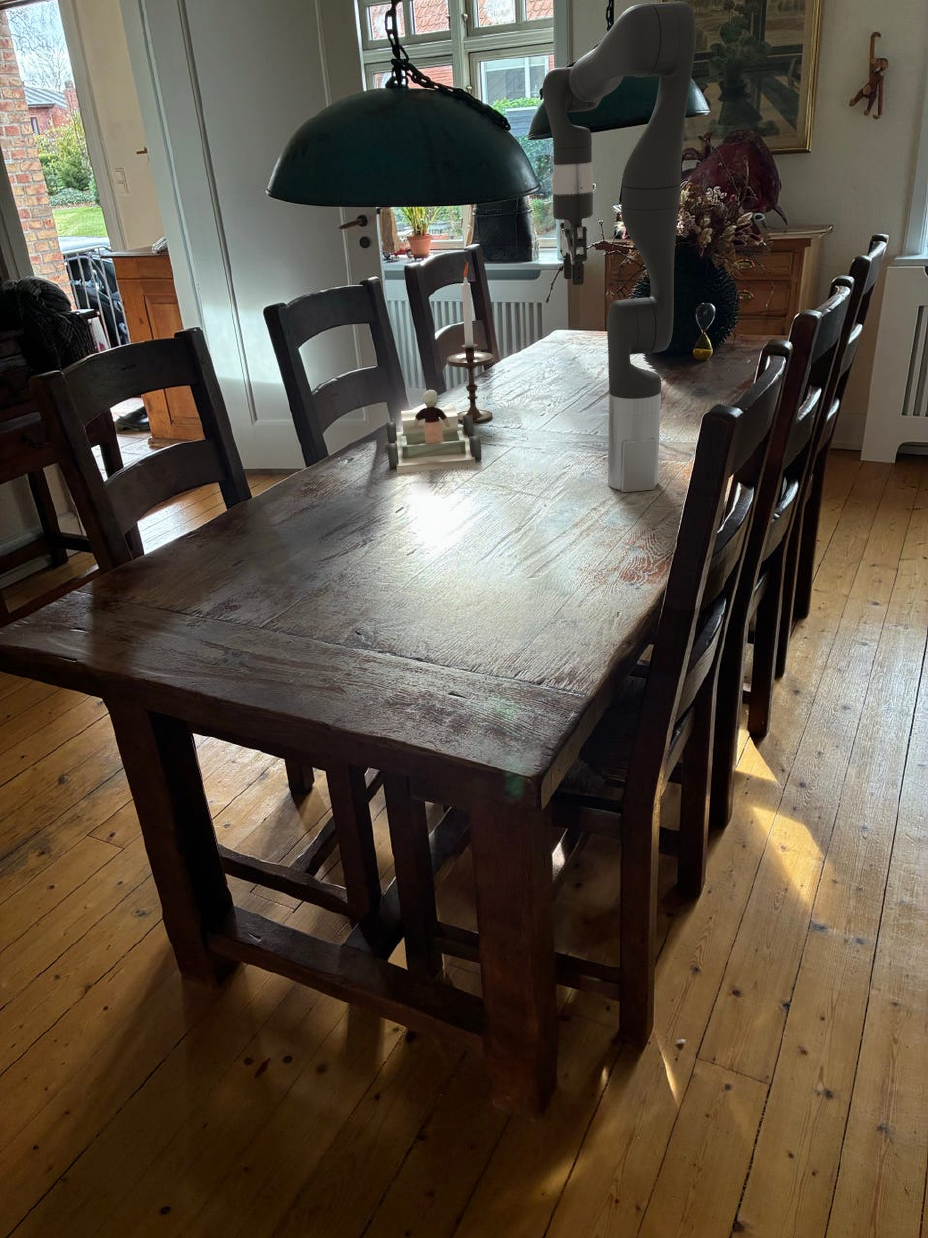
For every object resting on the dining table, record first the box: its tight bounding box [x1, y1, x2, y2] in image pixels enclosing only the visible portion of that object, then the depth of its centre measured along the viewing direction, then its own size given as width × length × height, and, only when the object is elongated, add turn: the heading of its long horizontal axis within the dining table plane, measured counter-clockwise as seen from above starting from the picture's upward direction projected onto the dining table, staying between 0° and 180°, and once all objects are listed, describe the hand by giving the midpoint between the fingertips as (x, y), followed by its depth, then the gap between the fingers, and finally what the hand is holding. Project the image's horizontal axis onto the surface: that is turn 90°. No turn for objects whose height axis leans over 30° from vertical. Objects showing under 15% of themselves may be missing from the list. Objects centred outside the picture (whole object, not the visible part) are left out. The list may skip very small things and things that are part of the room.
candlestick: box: [446, 261, 495, 425], centre depth 210 cm, size 11×11×35 cm
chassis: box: [386, 406, 482, 474], centre depth 196 cm, size 24×19×6 cm
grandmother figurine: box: [414, 389, 450, 443], centre depth 191 cm, size 8×4×13 cm, turn 88°
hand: (573, 281), depth 180 cm, fingers open, 8 cm apart
